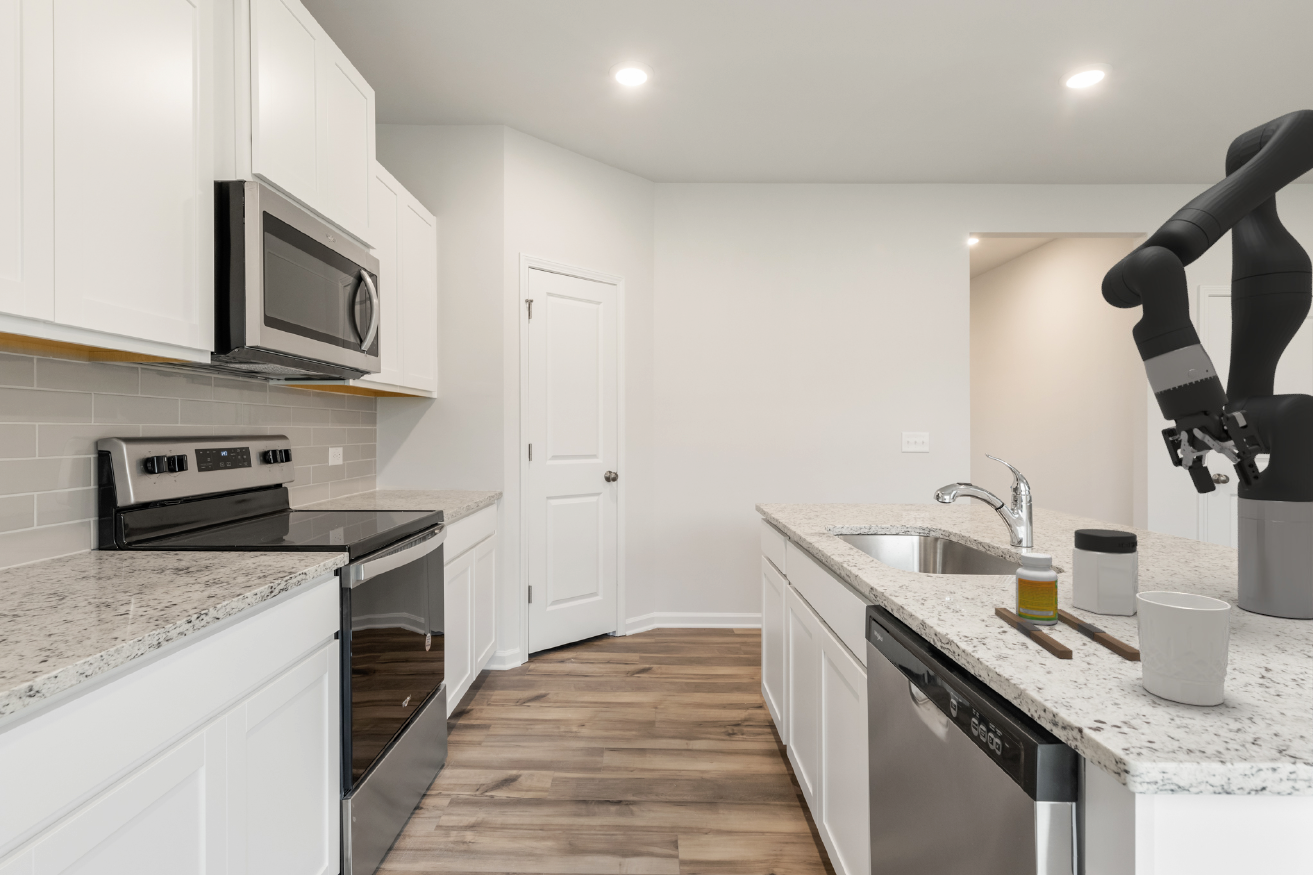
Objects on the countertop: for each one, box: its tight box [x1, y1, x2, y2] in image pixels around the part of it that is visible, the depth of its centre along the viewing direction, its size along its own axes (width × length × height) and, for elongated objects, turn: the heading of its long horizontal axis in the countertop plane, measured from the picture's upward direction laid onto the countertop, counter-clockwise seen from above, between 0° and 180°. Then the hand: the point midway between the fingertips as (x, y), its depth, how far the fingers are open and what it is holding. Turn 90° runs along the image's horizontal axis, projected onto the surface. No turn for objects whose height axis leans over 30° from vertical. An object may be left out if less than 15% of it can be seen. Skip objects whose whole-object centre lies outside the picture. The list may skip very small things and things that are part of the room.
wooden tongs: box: [994, 607, 1141, 662], centre depth 90 cm, size 10×20×1 cm, turn 173°
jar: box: [1072, 528, 1139, 617], centre depth 103 cm, size 9×8×12 cm
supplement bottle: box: [1015, 552, 1059, 626], centre depth 97 cm, size 5×5×10 cm
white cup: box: [1136, 590, 1232, 707], centre depth 70 cm, size 8×8×10 cm
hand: (1229, 490), depth 92 cm, fingers open, 8 cm apart
